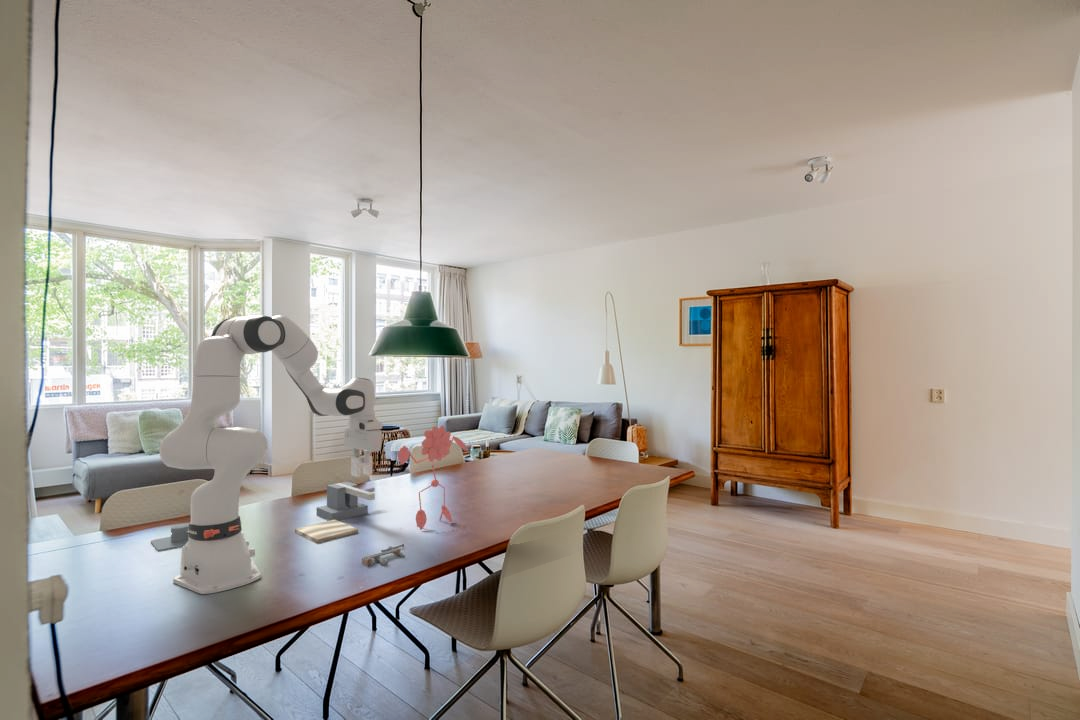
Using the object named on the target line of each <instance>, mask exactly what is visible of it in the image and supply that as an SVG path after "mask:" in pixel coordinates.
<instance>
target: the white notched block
mask: <svg viewBox="0 0 1080 720" xmlns="http://www.w3.org/2000/svg"><path fill="white" fill-rule="evenodd" d="M362 458H364V455H360V456H356V457H355V456H351V457H350V475H351V477H356V478H359V477H361V476H362V475H361V474H363V475H366V476H371V475H373V456H372V455H370V457H369V463H363V462H362V461H363V460H362ZM361 471H362V472H361Z"/></svg>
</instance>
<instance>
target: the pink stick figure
mask: <svg viewBox="0 0 1080 720" xmlns="http://www.w3.org/2000/svg"><path fill="white" fill-rule="evenodd" d="M423 434H424V437H425V438H424V440H423V441H421V446H422V449H421V455H422V456H426V455H428V456H427V457H425V458H423V459H420V460H418V461H417V460H416V459H415V458H414V456H413V455H412V453H411V452H410V450H409V448H408V447H406V445H403V446H402V447H400V449H399V450H398V452H397V458H398V461H399V463H400V464H401V465H403V466H404V465H405V463H406V462H407V461H408V460H409V457H411V459H412V460H413V461H414V463H415V464H419V463H421V462H424V461H426V460H429V462H430V463H431V468H432V472H433V478H434V479H432V480H431V482H430V485H429V486H427V487H425V488H423V489H422V490H420V491H419V492H418V500H419V510H418V511H416V514H415V522H416V527H418V528H419V530H420V531H421V530H423V529H424V527H425V526H426V524H427V520H428V519H427V514H426V512H425V510H423V509H422V502H421V501H422V500H421V493H423V492H424V491H426V490H427V489H429V488H431V487H432V488H437V487H438V486H440V488H443V504H442V505H441V514H440V517H439V522H441V520H442V518H443V515H444V517H445V518H446V519H447V520H448V522H449V521H450V522H451V523H452V522H453V520H452V514H451V512H450V510H449V509H448V507H447V506H446V488H445V486H443V485H442V484H440V482H439V480H438V479H437V477H436V473H435V472H436V471H435V466H434V465H435V464H434V461H435V460H436V461H439V462H441V460H442V459H443V458H446V456H448V455H449V454H450V447H451V446H452V445H453V441H454V442H455V443H456V445H458V447H459V448H460V449H462V450H464V451H467V452H469V448H468V447H467V446H466V444H465V442H464V441H462V440H461V439H460V438H459V437H457V436H454V435H453V436H452V438H451V435H452V434H451V432H450V431H446V427H445V426H444V425H440V426H439V427H438V426H433V427H432V430H430V429H427V430H424V433H423ZM463 527H466V524H465V525H463V526H461V527H459V528H457V529H454V530H449V531H448V533H450V532H455V531H458V530H459V529H462V528H463ZM400 529H401V530H402V529H403V528H402V527H400ZM444 533H447V531H446V532H445V531H444V532H442V534H444ZM437 534H440V532H439V533H438V532H436V535H437Z"/></svg>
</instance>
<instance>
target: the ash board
mask: <svg viewBox="0 0 1080 720" xmlns="http://www.w3.org/2000/svg"><path fill="white" fill-rule="evenodd" d="M294 533H295V534H297V535H299V536H302V537H303V538H305V539H307V540H310V541H311V542H312V543H313V542H314V543H315V544H319V543H323V542H327V541H331V540H335V539H338V538H342V537H346V536H350V535H354V534H358V533H359V528H357V527H354V526H351V525H350V524H347V523H344V522H342V521H341V520H338V521H337V520H331V521H329V520H326V521H323V522H318V523H315V524H310V525H306V526H300V527H298V528H294Z"/></svg>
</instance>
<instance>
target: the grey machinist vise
mask: <svg viewBox="0 0 1080 720" xmlns="http://www.w3.org/2000/svg"><path fill="white" fill-rule="evenodd" d="M358 485H359V484H356V483H353V482H349V481H343V482H339V483H332V484H327V485H326V505H321V506H316V517H319V518H322V519H324V520H326V521H331V520H337V521H341V520H347V519H350V518H354V517H359V516H362V515H367V514H368V513H369V508H368V507H369V505H367V504H365V503H361V502H359V498H361V499H364V500H367V501H374V500H376V497H375V496H376V494H375V493H374V492H375V490H376V489H375V487H369V488H364V489H362V488H358V487H359V486H358Z"/></svg>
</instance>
